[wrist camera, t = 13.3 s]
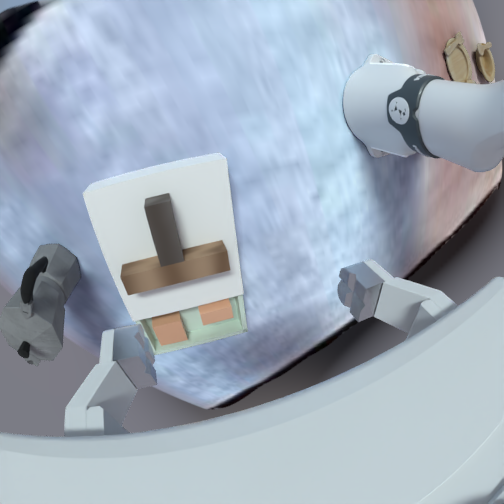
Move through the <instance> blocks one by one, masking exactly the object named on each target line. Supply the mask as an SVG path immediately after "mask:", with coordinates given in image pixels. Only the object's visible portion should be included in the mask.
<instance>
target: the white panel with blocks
mask: <svg viewBox="0 0 504 504" xmlns="http://www.w3.org/2000/svg"><path fill="white" fill-rule="evenodd" d="M166 193H169V195H170V199H171V204H172V209H173V213H174V218H175V222H176V226H177V231H178V235H179V239H180V243H181V247H182V249H186V248H190V247H194V246H199V245H203V244H207V243H211V242H215V241H220V240H222V241H223V243H224V245H225V247H226V249H227V252H228V258H229V264H230V271H226V272H222V273H218V274H214V275H210V276H206V277H202V278H198V279H194V280H190V281H186V282H182V283H178V284H174V285H169V286H165V287H161V288H157V289H153V290H149V291H145V292H141V293H137V294H132V295H128V294H127V292H126V290H125V287H124V285H123V283H122V280H121V278H120V276H121V269H122V264H126V263H130V262H134V261H138V260H142V259H146V258H150V257H154V256H158V255H157V252H156V249H155V245H154V242H153V239H152V235H151V231H150V228H149V224H148V221H147V217H146V213H145V209H144V204H145V199H146V198H150V197H154V196H158V195H162V194H166ZM83 197H84V200H85V203H86V206H87V210H88V213H89V216H90V219H91V222H92V225H93V228H94V231H95V233H96V236H97V239H98V242H99V244H100V247H101V250H102V252H103V255H104V257H105V260H106V262H107V265H108V267H109V270H110V272H111V275H112V277H113V279H114V282H115V284H116V286H117V288H118V291H119V293H120V295H121V297H122V299H123V302H124V304H125V306H126V308H127V310H128V312H129V314H130V316H131V318H132V320H133V321H138V320H142V319H146V318H151V317H155V316H159V315H164V314H168V313H172V312H176V311H180V310H184V309H188V308H192V307H196V306H200V305H204V304H208V303H212V302H216V301H219V300H223V299H227V298H231V297H235V296H238V295H242V294H244V292H243V285H242V277H241V270H240V262H239V255H238V247H237V239H236V231H235V224H234V216H233V208H232V199H231V191H230V183H229V175H228V166H227V158H225V157H224V156H223V155H222V154H220V153H213V154H208V155H202V156H197V157H192V158H187V159H182V160H178V161H173V162H169V163H164V164H160V165H156V166H152V167H147V168H143V169H140V170H136V171H132V172H128V173H125V174H121V175H117V176H114V177H110V178H107V179H104V180H100V181H97V182H94V183H91V184H90V185H89V186H88V188H87V189H86V190H85V191H84V193H83Z"/></svg>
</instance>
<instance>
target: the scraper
mask: <svg viewBox="0 0 504 504" xmlns="http://www.w3.org/2000/svg"><path fill="white" fill-rule="evenodd" d="M144 209H145V213H146V217H147V221H148V224H149V228H150V231H151V235H152V239H153V242H154V245H155V249H156V252H157V255H158V256H154V257H150V258H146V259H142V260H138V261H134V262H130V263H126V264H122V269H121V276H120V278H121V280H122V283H123V285H124V287H125V290H126V292H127V294H128V295H132V294H137V293H141V292H145V291H149V290H153V289H157V288H161V287H165V286H169V285H174V284H178V283H182V282H186V281H190V280H194V279H198V278H202V277H206V276H210V275H214V274H218V273H222V272H226V271H230V264H229V258H228V252H227V249H226V247H225V245H224V243H223V241H222V240H220V241H215V242H211V243H207V244H203V245H199V246H194V247H190V248H186V249H182V247H181V243H180V239H179V235H178V231H177V226H176V222H175V218H174V213H173V209H172V204H171V199H170V195H169V193H166V194H162V195H158V196H154V197H150V198H146V199H145V204H144Z"/></svg>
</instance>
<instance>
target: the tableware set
mask: <svg viewBox="0 0 504 504" xmlns="http://www.w3.org/2000/svg"><path fill="white" fill-rule="evenodd" d="M462 38H463V37H462V35H461V32H458V33H457V34H456V35H455V38H451V39H449V40H448V42H447V44H446V48H445V49H444V52H445V55H446V63H447V67H448V71H449V73H450V76H451V78H452V79H453V81H456V82H464V83H474V84H476V82H475V81H474V80H471V78H472V67H471V61H470V58H469V55H468V52H467V50H466V48H465V47H464V45H463V42H464V39H462ZM491 47H492V44H491V42H487V43H486V44H483V43H481V44H480V43H478V44H477V51H476V63H477V66H478V69H479V70H480V72H481V73H482V74H483V76H484V78H485V79H486V80H487V81H488V82H492V81H493V80H494V76H495V65H494V60H493V57H492V54H491V52H490V50H489V48H491Z"/></svg>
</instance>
